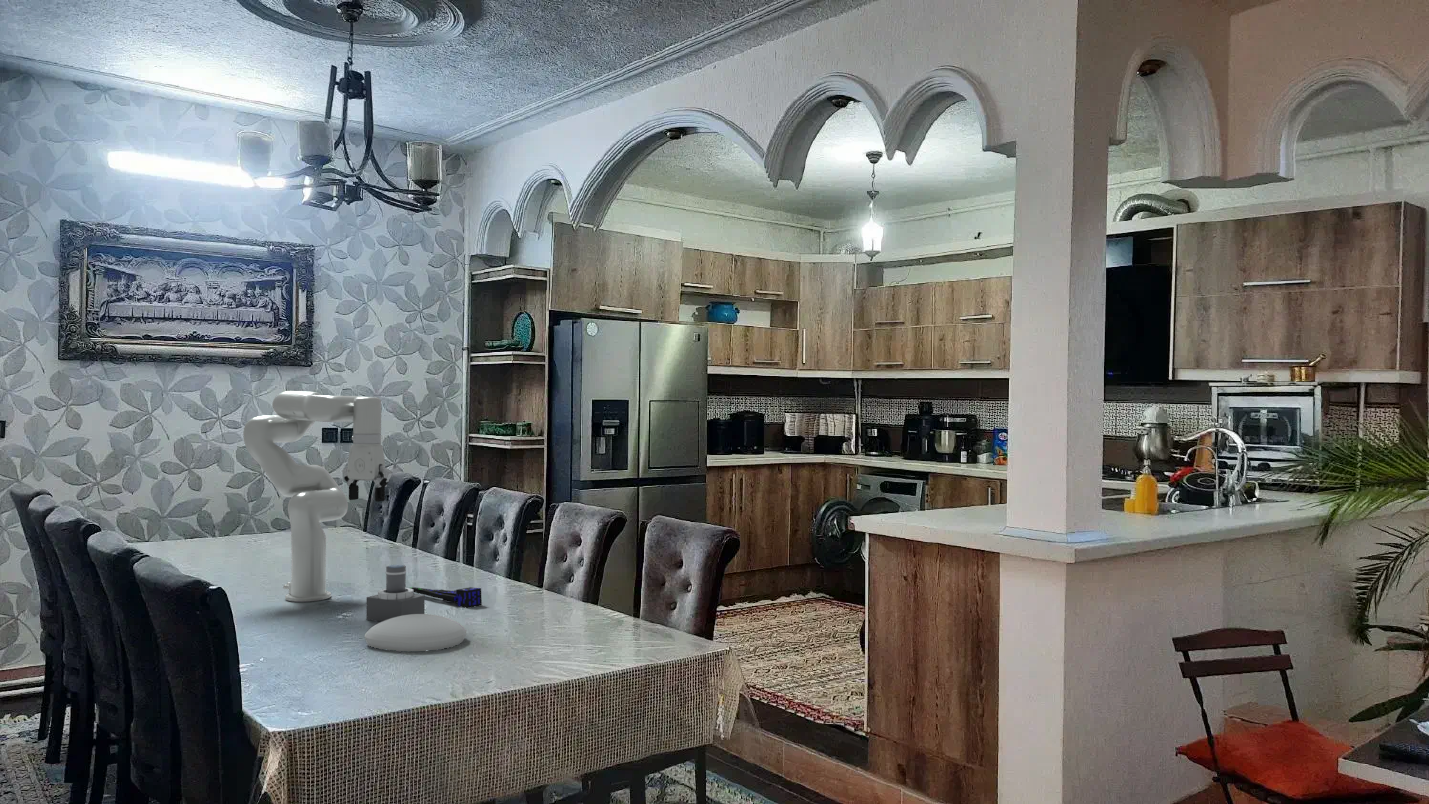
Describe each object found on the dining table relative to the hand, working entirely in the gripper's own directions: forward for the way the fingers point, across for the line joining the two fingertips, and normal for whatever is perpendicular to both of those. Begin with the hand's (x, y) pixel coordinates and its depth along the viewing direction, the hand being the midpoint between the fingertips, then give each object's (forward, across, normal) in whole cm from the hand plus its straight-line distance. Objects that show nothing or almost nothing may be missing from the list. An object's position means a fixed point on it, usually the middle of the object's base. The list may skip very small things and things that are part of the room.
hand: (366, 500), depth 288 cm
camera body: (+30, +18, -8) cm, 36 cm away
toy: (+31, +13, +19) cm, 38 cm away
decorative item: (+31, +41, -26) cm, 58 cm away
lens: (+24, +18, -8) cm, 31 cm away
